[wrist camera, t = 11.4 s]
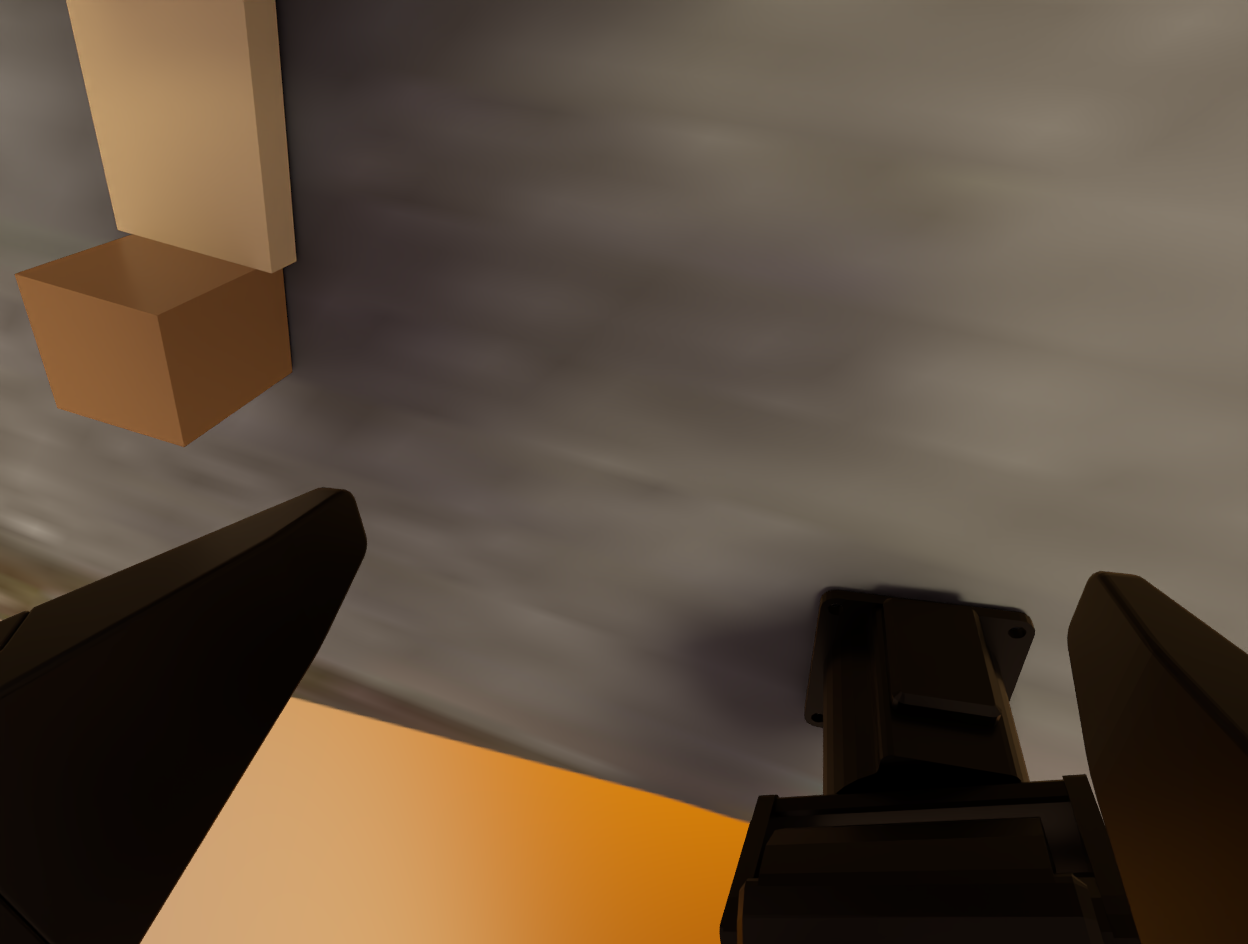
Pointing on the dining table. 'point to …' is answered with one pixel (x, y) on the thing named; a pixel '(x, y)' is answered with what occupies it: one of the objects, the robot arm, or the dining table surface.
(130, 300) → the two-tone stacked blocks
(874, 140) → the dining table surface
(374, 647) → the dining table surface
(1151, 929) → the robot arm
